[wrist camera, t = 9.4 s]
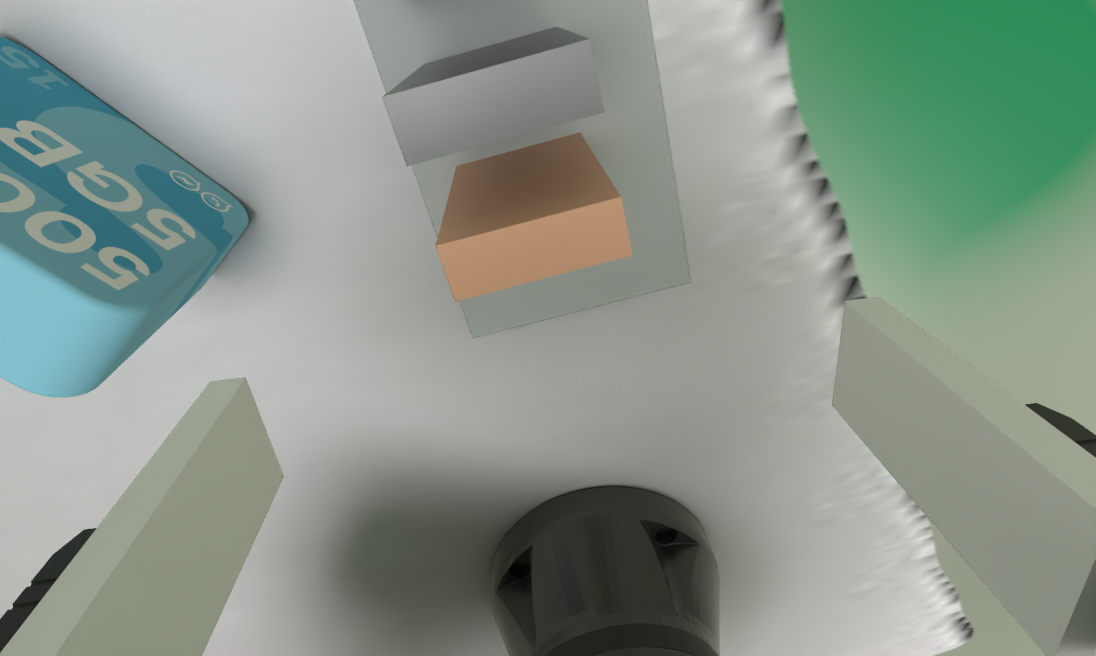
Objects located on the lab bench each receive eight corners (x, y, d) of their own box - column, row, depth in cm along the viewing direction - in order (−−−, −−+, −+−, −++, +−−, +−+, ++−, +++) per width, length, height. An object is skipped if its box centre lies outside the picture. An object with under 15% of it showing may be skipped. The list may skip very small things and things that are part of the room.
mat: (688, 279, 33) (690, 282, 33) (473, 334, 34) (472, 338, 34) (555, -574, 19) (556, -585, 19) (195, -454, 20) (189, -462, 20)
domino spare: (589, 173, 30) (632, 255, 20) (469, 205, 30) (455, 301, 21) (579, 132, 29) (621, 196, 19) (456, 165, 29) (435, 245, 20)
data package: (261, 213, 30) (132, 326, 20) (212, 278, 31) (67, 417, 21) (1, 26, 26) (-345, 42, 15) (-42, 110, 27) (-388, 179, 17)
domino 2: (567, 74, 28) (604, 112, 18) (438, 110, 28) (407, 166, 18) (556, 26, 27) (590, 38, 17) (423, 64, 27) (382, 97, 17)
